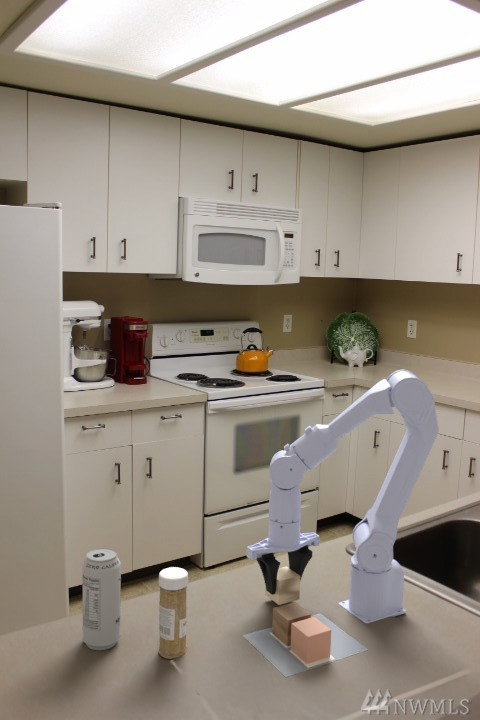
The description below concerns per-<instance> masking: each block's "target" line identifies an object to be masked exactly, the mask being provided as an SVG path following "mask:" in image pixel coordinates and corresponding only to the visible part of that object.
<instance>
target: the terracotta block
mask: <svg viewBox="0 0 480 720" xmlns="http://www.w3.org/2000/svg"><path fill="white" fill-rule="evenodd" d="M330 649H331V629H330V628H328V627H327V626H326V625H324V624H323V623H322V622H321V621H319V620H318V619H317V618H315V617H312V618H308V619H305V620H301V621H298V622H294V623H292V624H291V649H290V650H291V651H293V652H294V653H295V654H296V655H297V656H298V657H299V658H300V659H302V660H303V661H304V662H305V663H306V664H309V663H312V662H315V661H318V660H321V659H324V658H327V657H330Z"/></svg>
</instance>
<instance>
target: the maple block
mask: <svg viewBox="0 0 480 720" xmlns="http://www.w3.org/2000/svg"><path fill="white" fill-rule="evenodd" d="M264 591H265V592H264V593H265V595H266V597H268V598H269V599H270V600H272V601H273V602H274V603H276V605H278V606H282V605H286V604H289V603H293V602H296V601H298V600H300V593H301V592H300V591H301V581H300V575H298V574H297V573H295V572H294V571H292V570H291V569H289V566H282V567H279V569H278V573H277V583H276V593H275V594H273V595H272V594H270V593H269V592H268V591H266V587H265V589H264Z"/></svg>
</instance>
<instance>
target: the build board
mask: <svg viewBox="0 0 480 720" xmlns="http://www.w3.org/2000/svg"><path fill="white" fill-rule="evenodd" d="M312 617H315V618H317V619H318V620H319V621H321V622H322V623H323V624H324V625H326V626H327V627H328V628H330V629H331V649H330V657H327V658H324V659H321V660H318V661H315V662H312V663H309V664H306V663H305V662H304V661H303V660H302V659H300V658H299V657H298V656H297V655H296V654H295V653H294V652H293V651H291V650H290V649H291V646H288V647H287V646H286V645H285V644H284V643H282V642H281V641H280V640H279V639H278V638H277V637H276V636H275V635H273V634H272V626H271V627H267V628H264V629H260V630H256V631H253V632H249V633H246V634H242V637H243V638H244V639H245V640H246V641H247V642H248V643H249V644H250V645H251V646H253V647H254V648H255V650H257V651H258V652H259V653H260V654H261V655H262V656H263V657H264V658H265V659H266V660H267V661H268V662H269V663H270V664H271V665H272V666H273V667H274V668H275V669H276V670H277V671H278V672H279V673H280V674H281V675H282V676H284V677H285V678H289V677H291V676H294V675H297V674H300V673H303V672H304V673H305V672H307V671H310V670H312V669H315V668H319V667H321V666H325V665H328V664H331V663H334V662H337V661H340V660H343V659H345V658H349V657H352V656H354V655H357V654H361V653H364V652H367V651H369V649H368V648H367V647H365V646H364V645H363V644H362V643H360V642H359V641H357V640H356V639H355V638H354V637H352V636H350V634H348V633H347V632H345V631H344V630H343V629H341V628H340V627H339V626H338V625H336V624H335V623H334V622H333V621H331V620H330V619H329V618H327V617H326V616H324V615H323V614H322V613H317V614H314V615H312V614H311V618H312Z"/></svg>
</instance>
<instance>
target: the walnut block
mask: <svg viewBox="0 0 480 720" xmlns="http://www.w3.org/2000/svg"><path fill="white" fill-rule="evenodd" d="M311 616H312V614H311V613H310V612H309V611H308V610H306V609H305V608H304V607H303V606H301V605H300V604H298V603H297V602H296V601H293V602H289V603H285V604H282V605H278V606H276V607H273V608H272V624H271V625H272V626H271V627H272V634H273V635H275V636H276V637H277V638H278V639H279V640H280V641H281V642H282V643H284V644H285V645H286V646H287V647H288V646H291V624H292V623H294V622H298V621H301V620H305V619H308V618H311Z"/></svg>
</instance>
